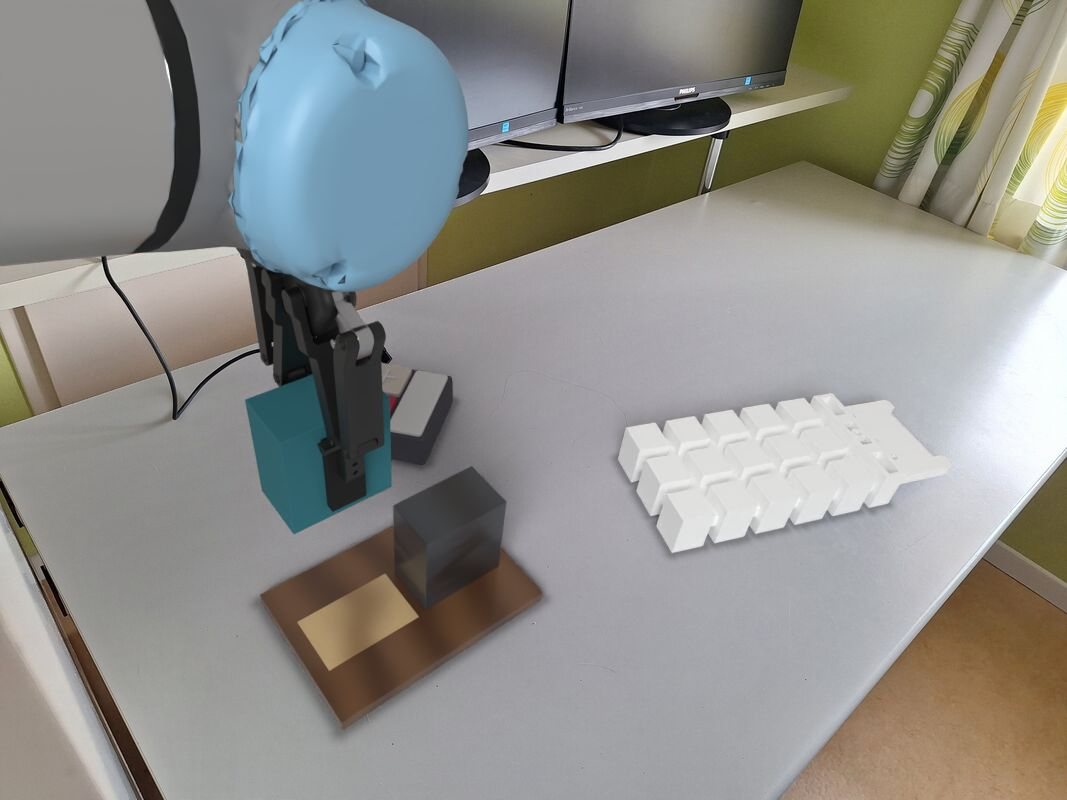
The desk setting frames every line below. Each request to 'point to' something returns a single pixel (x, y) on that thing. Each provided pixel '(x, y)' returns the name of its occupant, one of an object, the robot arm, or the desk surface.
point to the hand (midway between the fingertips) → (327, 475)
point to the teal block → (303, 453)
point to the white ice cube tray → (770, 466)
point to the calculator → (415, 410)
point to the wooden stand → (403, 597)
